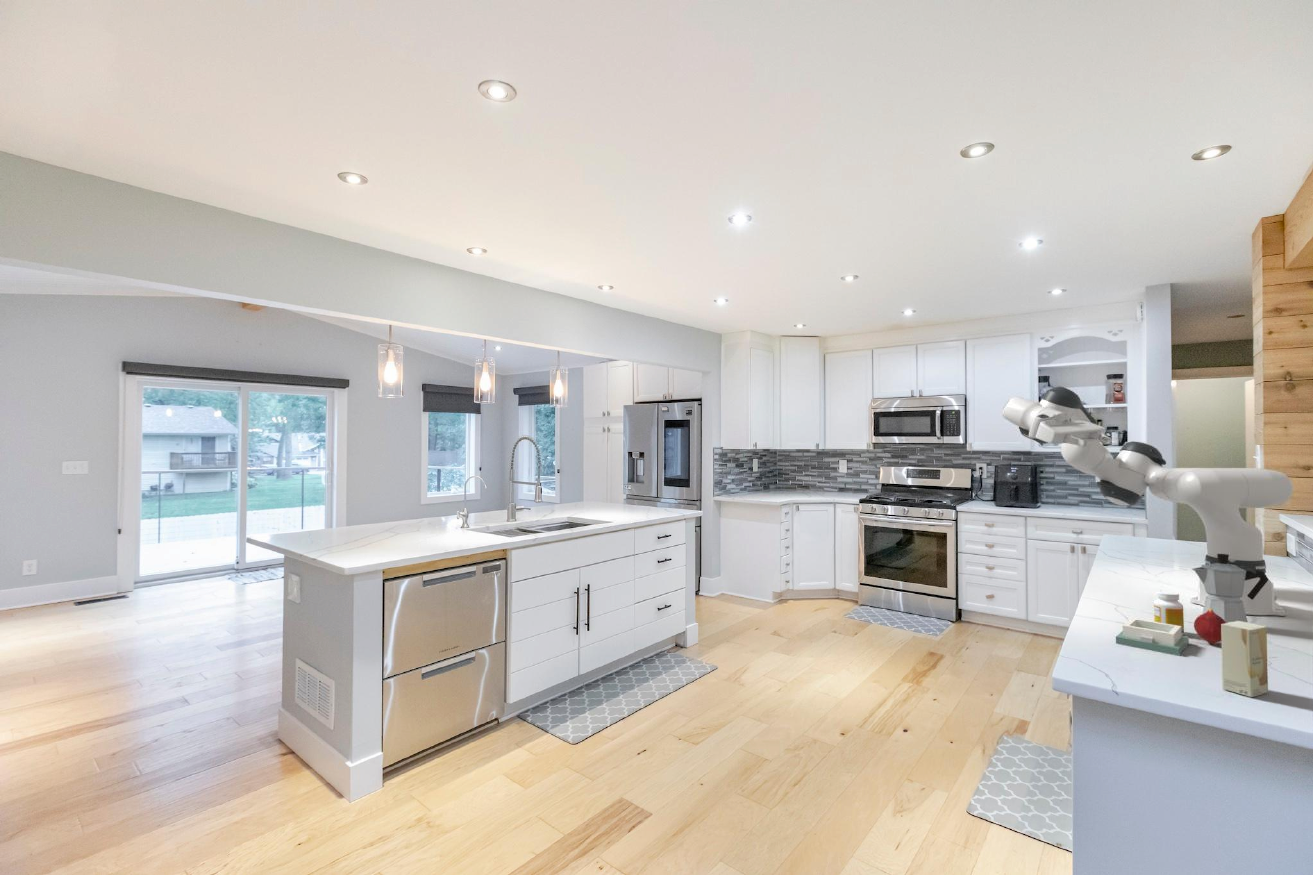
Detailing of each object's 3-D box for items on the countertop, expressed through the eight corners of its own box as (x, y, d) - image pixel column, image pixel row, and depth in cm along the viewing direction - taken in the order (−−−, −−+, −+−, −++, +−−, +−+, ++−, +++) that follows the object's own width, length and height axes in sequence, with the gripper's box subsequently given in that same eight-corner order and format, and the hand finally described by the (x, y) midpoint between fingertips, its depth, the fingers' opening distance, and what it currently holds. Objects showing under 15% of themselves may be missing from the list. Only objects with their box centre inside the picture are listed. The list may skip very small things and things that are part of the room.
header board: (1128, 632, 144) (1128, 615, 144) (1188, 643, 135) (1188, 625, 135) (1115, 643, 136) (1115, 625, 136) (1178, 655, 128) (1178, 637, 128)
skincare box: (1252, 698, 106) (1250, 630, 106) (1221, 689, 110) (1219, 623, 110) (1270, 692, 108) (1268, 625, 109) (1239, 683, 112) (1237, 619, 113)
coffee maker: (1201, 627, 147) (1199, 555, 147) (1185, 618, 155) (1183, 549, 155) (1280, 634, 141) (1278, 558, 142) (1258, 623, 149) (1256, 552, 150)
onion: (1236, 649, 131) (1235, 613, 132) (1206, 647, 133) (1205, 611, 133) (1217, 640, 137) (1216, 606, 137) (1188, 639, 138) (1187, 605, 138)
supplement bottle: (1188, 634, 142) (1187, 593, 142) (1177, 637, 140) (1176, 596, 140) (1161, 628, 147) (1160, 588, 147) (1150, 631, 145) (1149, 591, 145)
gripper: (1074, 432, 181) (1119, 450, 169) (1024, 436, 174) (1067, 456, 162) (1081, 412, 178) (1127, 430, 166) (1030, 417, 172) (1074, 435, 160)
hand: (1097, 443), depth 164 cm, fingers open, 8 cm apart
